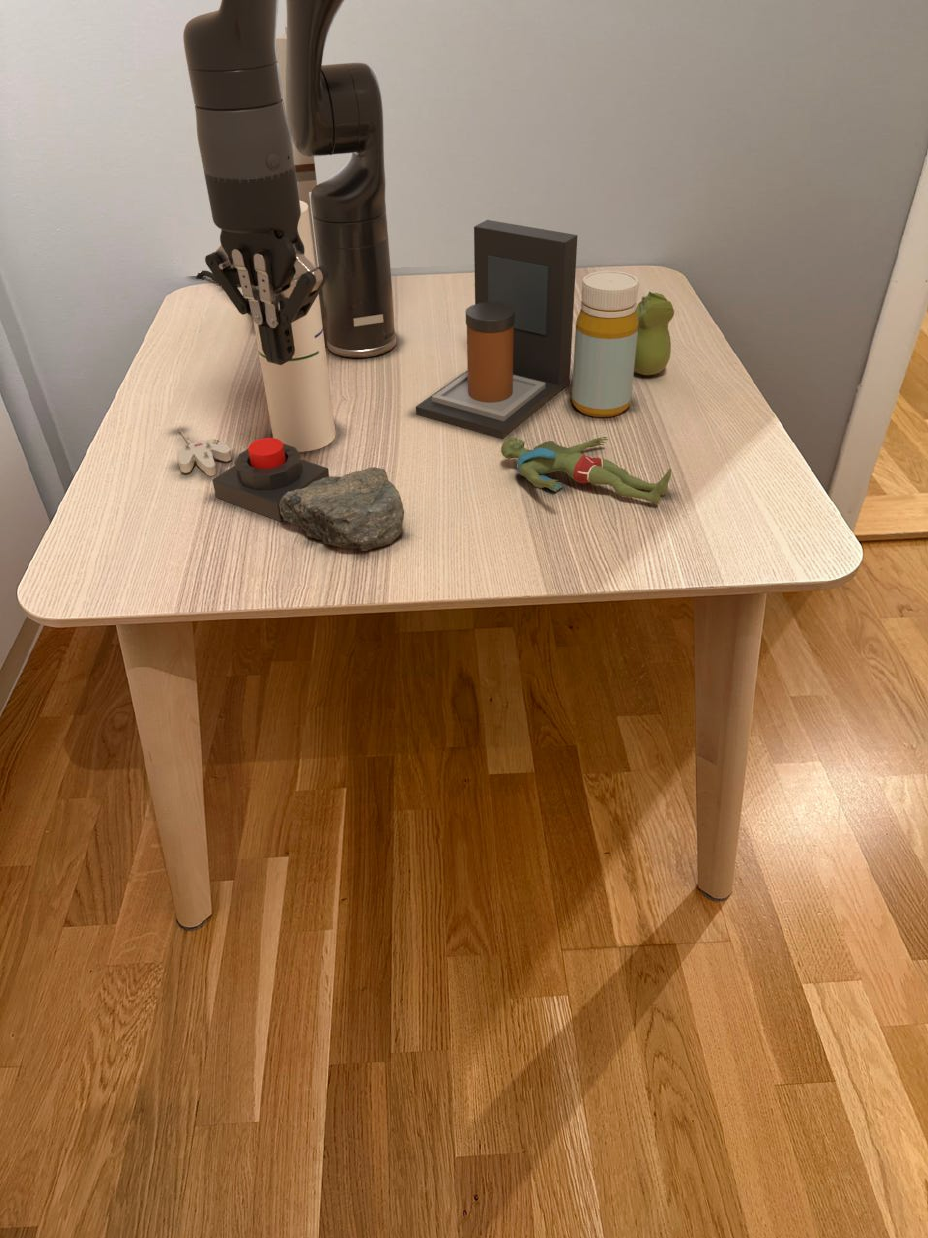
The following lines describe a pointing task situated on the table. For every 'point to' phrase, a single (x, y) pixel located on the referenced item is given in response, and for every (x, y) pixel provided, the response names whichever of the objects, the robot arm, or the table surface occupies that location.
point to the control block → (266, 482)
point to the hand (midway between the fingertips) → (280, 360)
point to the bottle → (605, 344)
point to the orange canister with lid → (490, 351)
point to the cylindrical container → (301, 375)
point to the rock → (348, 509)
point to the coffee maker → (518, 324)
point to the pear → (653, 334)
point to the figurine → (578, 468)
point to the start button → (266, 453)
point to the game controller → (202, 455)
